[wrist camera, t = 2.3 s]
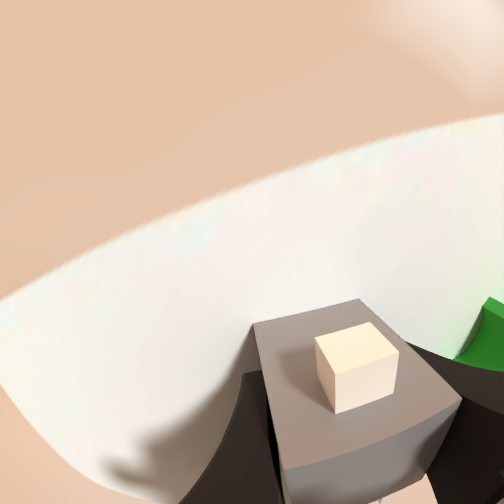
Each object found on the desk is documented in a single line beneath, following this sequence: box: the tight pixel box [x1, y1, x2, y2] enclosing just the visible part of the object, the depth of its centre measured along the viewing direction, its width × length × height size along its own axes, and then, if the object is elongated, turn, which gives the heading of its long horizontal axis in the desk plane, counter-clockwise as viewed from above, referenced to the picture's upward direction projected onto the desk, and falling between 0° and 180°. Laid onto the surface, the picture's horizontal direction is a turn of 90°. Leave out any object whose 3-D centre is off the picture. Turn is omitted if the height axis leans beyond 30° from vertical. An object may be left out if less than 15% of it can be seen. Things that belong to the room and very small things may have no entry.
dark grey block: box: [253, 299, 462, 504], centre depth 7 cm, size 4×5×6 cm
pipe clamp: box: [453, 297, 504, 371], centre depth 9 cm, size 11×4×5 cm, turn 130°
